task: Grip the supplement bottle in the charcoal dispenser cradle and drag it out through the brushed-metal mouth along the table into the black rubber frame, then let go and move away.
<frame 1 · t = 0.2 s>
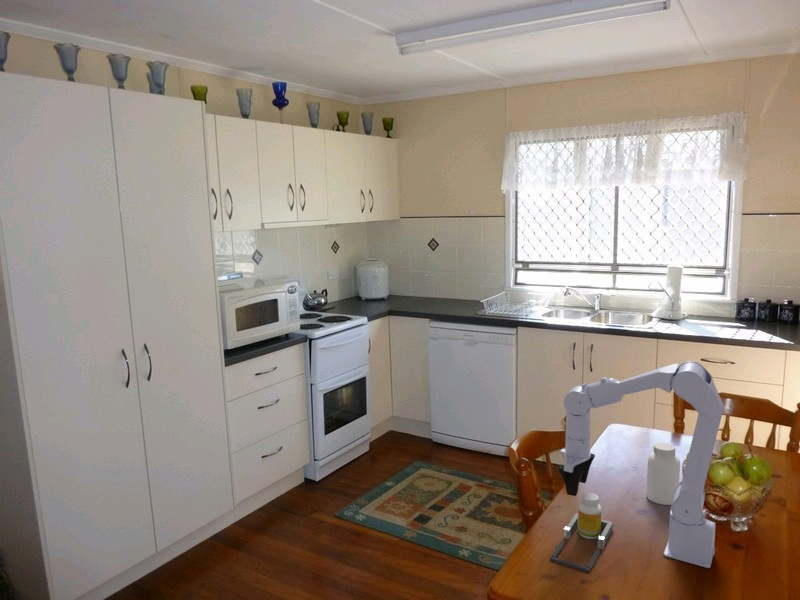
hand: (576, 488, 149), 10 cm above the table, tool pointing down, fingers open, 7 cm apart
supplement bottle: (588, 534, 147), on the table
pill bottle: (661, 499, 163), on the table
rubber frame: (575, 556, 138), on the table
dispenser cradle: (588, 533, 147), on the table
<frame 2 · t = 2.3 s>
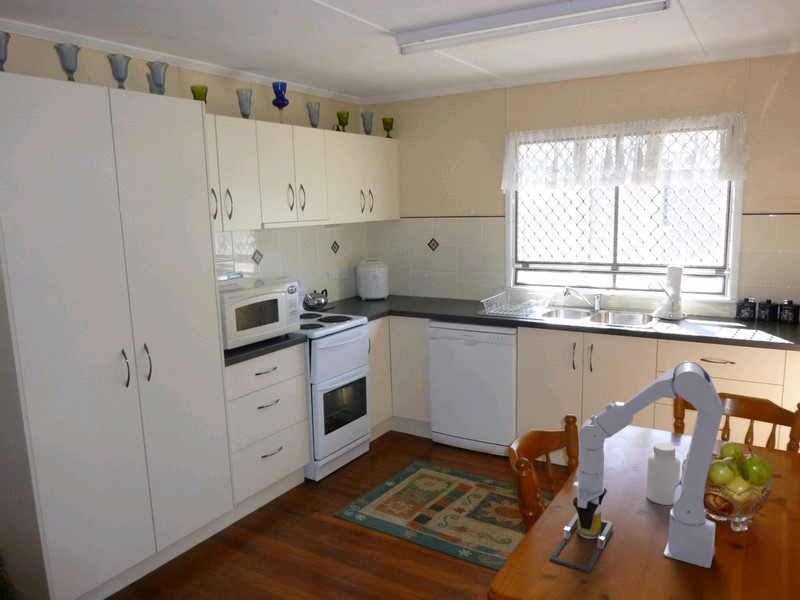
hand: (589, 522, 146), 3 cm above the table, tool pointing down, fingers closed on supplement bottle, 5 cm apart
supplement bottle: (588, 534, 147), on the table, touching gripper
everything else where it was.
when the fingers open (3 cm above the table, at t = 3.2 s): supplement bottle stays where it is, on the table.
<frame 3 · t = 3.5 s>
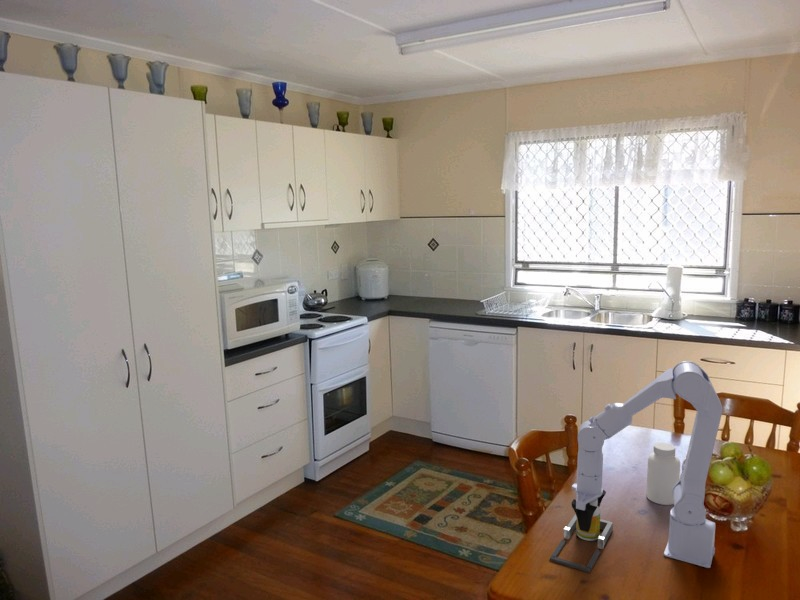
hand: (588, 524, 145), 3 cm above the table, tool pointing down, fingers open, 5 cm apart
supplement bottle: (587, 536, 146), on the table, touching gripper
everything else where it was.
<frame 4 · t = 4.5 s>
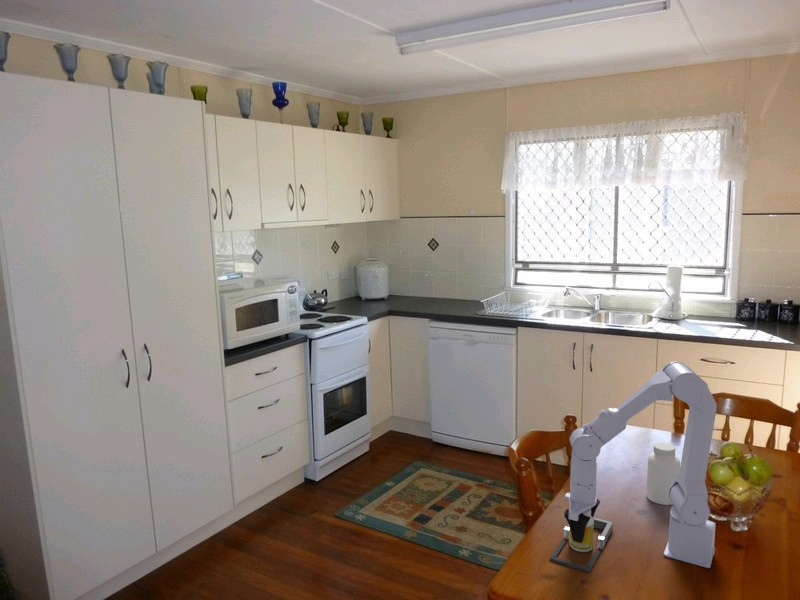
hand: (581, 534, 141), 3 cm above the table, tool pointing down, fingers open, 5 cm apart
supplement bottle: (580, 546, 142), on the table, touching gripper
everything else where it was.
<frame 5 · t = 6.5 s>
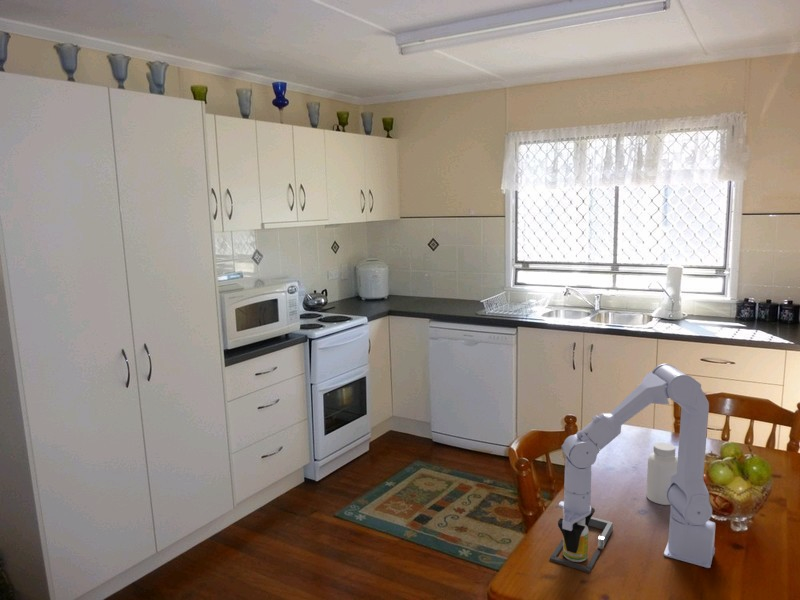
hand: (575, 544, 137), 3 cm above the table, tool pointing down, fingers closed on supplement bottle, 5 cm apart
supplement bottle: (575, 556, 138), on the table, touching gripper
everything else where it was.
when the fingers open (3 cm above the table, at t = 7.0 s): supplement bottle stays where it is, on the table.
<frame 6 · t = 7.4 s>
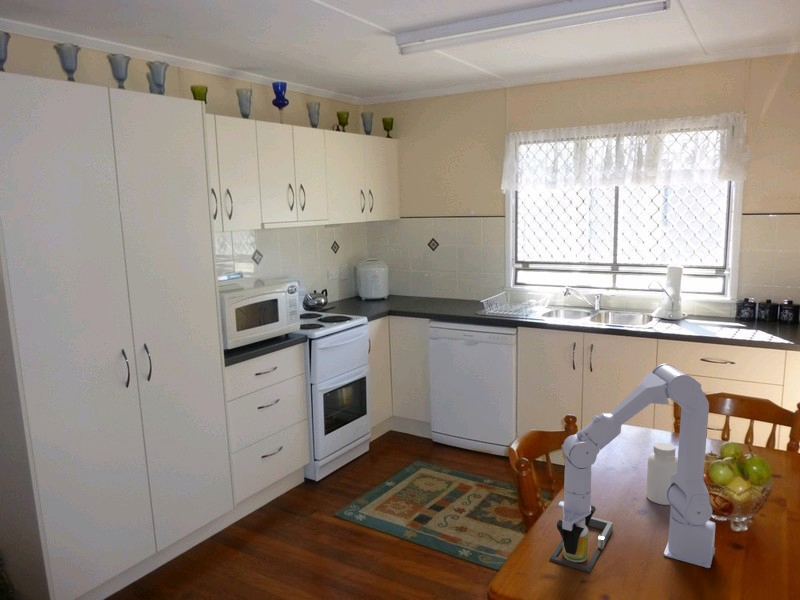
hand: (575, 544, 137), 3 cm above the table, tool pointing down, fingers open, 7 cm apart
supplement bottle: (574, 557, 138), on the table
everything else where it was.
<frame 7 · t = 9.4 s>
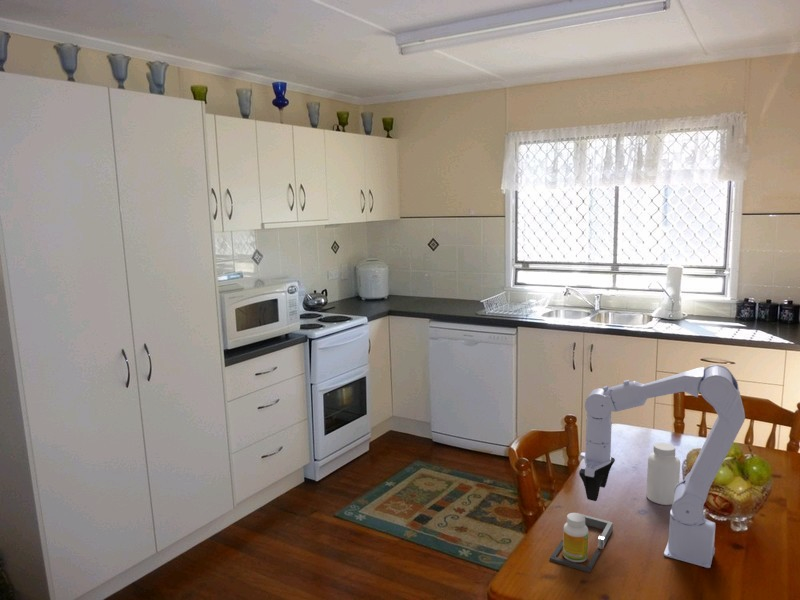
hand: (596, 492, 145), 10 cm above the table, tool pointing down, fingers open, 7 cm apart
nothing on the table moved.
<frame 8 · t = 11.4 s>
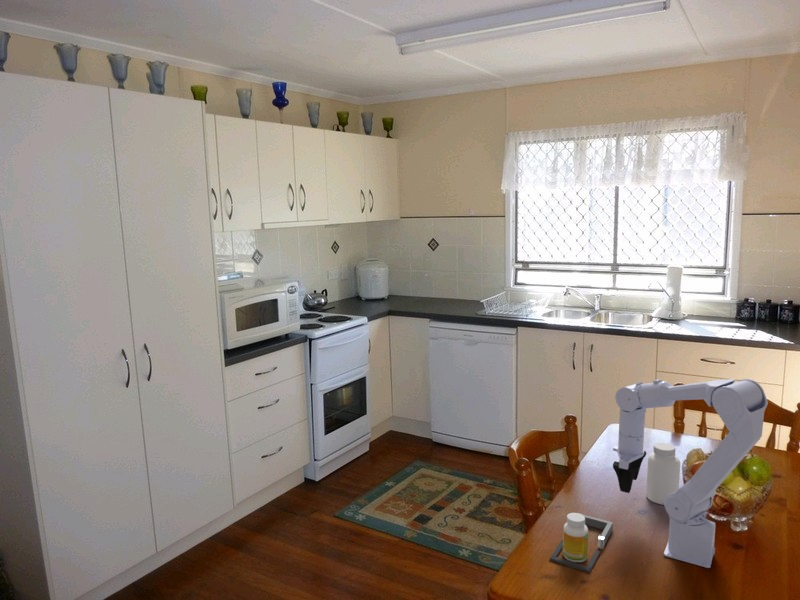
hand: (628, 485, 149), 10 cm above the table, tool pointing down, fingers open, 7 cm apart
nothing on the table moved.
at the end: supplement bottle 0.1 cm off-centre on the rubber frame, point 0.0 cm above the rubber frame's base; supplement bottle tilted 0°; the gripper is holding nothing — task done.
